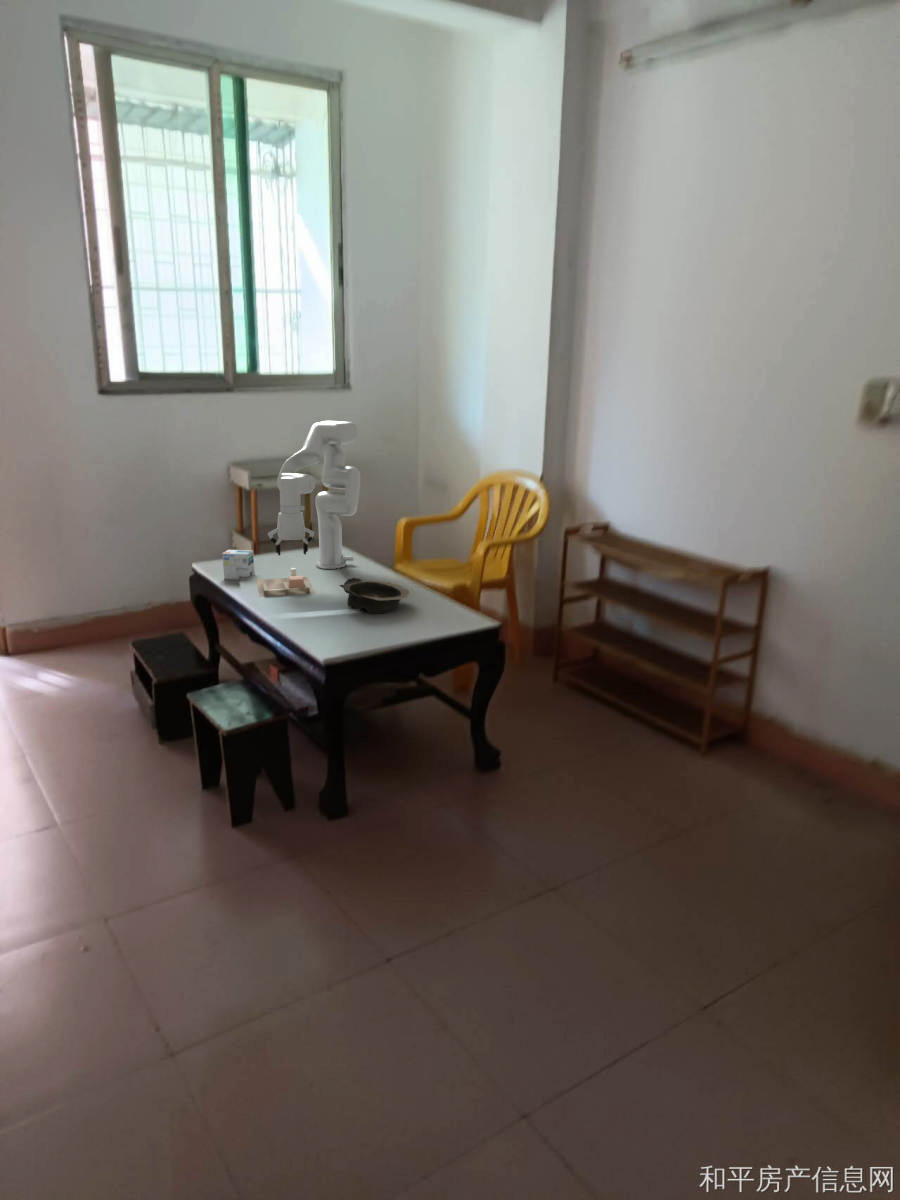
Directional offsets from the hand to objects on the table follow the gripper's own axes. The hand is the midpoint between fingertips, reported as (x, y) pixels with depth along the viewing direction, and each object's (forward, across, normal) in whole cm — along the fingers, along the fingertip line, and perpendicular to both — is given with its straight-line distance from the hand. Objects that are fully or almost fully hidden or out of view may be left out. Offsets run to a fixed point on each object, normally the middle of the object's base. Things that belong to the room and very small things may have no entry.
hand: (292, 554), depth 313 cm
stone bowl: (+14, -27, +30) cm, 42 cm away
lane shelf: (+13, +3, +2) cm, 14 cm away
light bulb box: (+14, +19, -19) cm, 30 cm away
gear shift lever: (+12, 0, +5) cm, 13 cm away
